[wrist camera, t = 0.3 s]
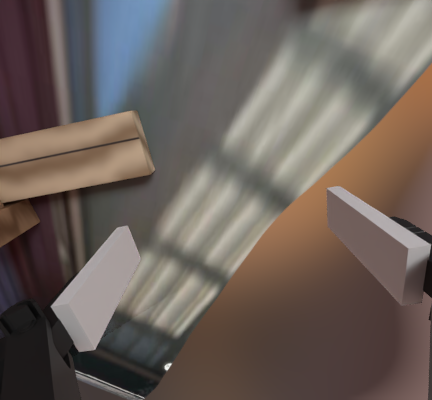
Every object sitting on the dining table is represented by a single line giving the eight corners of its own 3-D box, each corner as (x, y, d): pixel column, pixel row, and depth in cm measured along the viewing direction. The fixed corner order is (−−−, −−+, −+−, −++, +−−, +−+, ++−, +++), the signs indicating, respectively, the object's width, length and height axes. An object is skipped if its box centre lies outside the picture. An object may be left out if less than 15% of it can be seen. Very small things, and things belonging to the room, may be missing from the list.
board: (-51, 151, 40) (-71, 154, 37) (137, 110, 37) (130, 110, 34) (-18, 203, 43) (-35, 210, 41) (155, 169, 41) (150, 174, 38)
